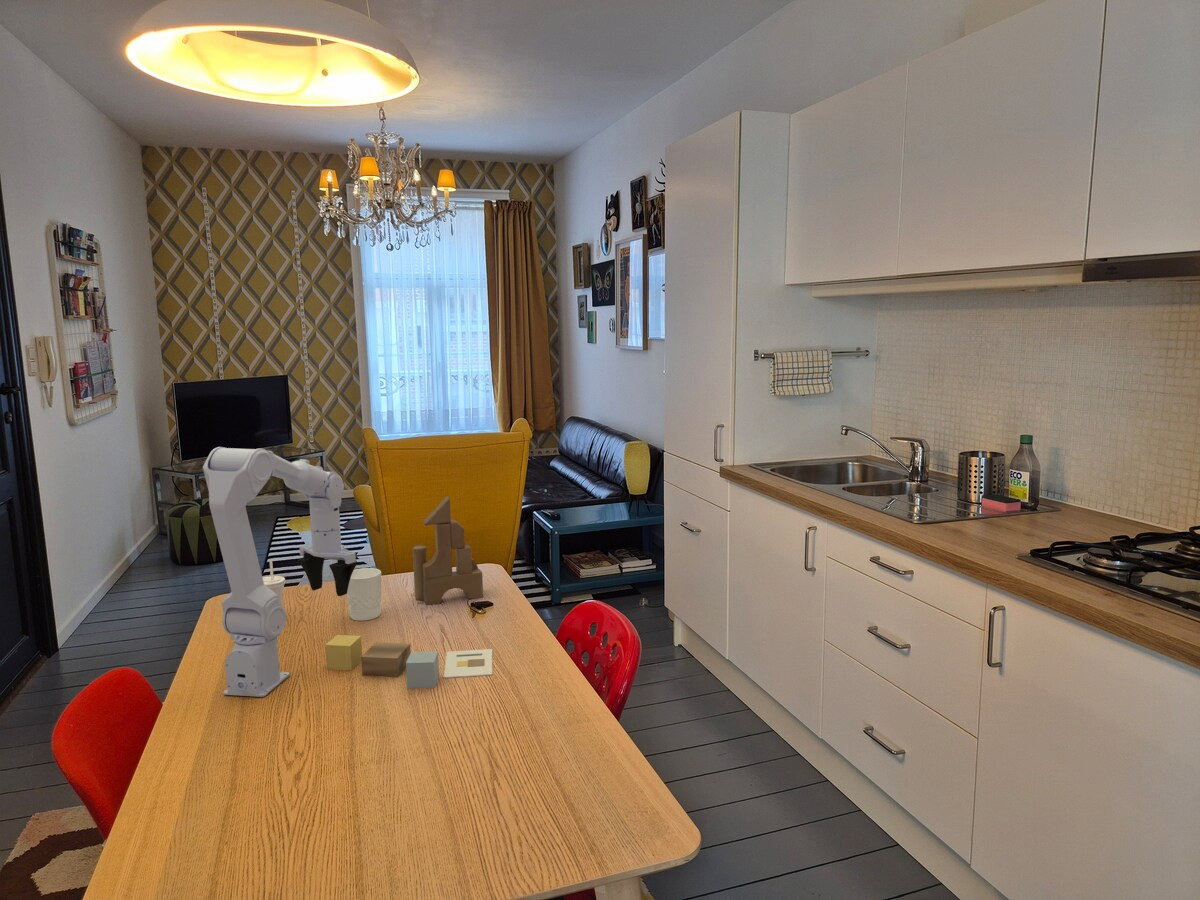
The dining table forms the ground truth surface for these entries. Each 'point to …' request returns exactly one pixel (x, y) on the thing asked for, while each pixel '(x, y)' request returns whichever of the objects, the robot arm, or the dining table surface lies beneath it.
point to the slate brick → (422, 670)
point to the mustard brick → (343, 652)
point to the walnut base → (385, 659)
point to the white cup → (364, 594)
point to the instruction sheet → (468, 663)
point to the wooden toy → (445, 561)
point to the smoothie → (275, 584)
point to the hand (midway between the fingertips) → (329, 591)
